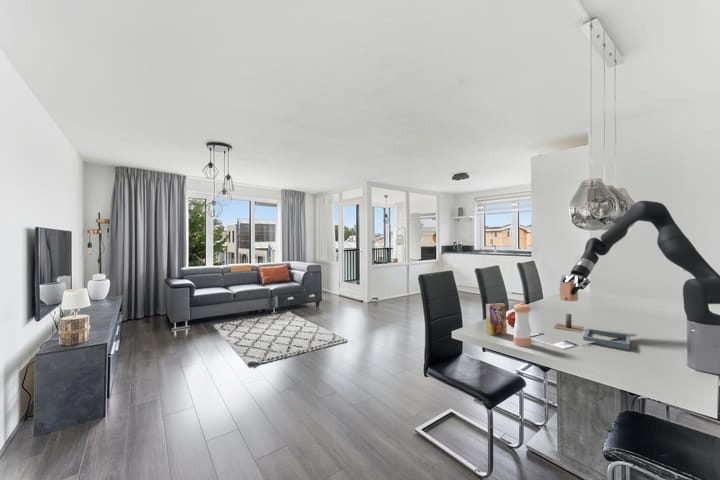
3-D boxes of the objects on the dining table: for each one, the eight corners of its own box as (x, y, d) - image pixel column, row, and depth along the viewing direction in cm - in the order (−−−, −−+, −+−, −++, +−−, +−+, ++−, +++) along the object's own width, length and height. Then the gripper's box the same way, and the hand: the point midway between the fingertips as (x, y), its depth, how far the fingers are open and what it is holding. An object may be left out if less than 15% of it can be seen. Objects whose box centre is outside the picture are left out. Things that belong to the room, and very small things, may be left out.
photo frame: (563, 347, 133) (525, 336, 149) (563, 350, 133) (525, 338, 149) (582, 342, 139) (544, 331, 155) (583, 345, 139) (544, 334, 155)
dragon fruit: (510, 325, 175) (523, 335, 163) (499, 317, 174) (511, 326, 162) (519, 313, 174) (532, 322, 162) (508, 305, 173) (521, 314, 161)
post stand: (581, 335, 151) (581, 318, 151) (553, 330, 159) (552, 314, 159) (584, 329, 160) (584, 313, 160) (557, 325, 168) (557, 310, 168)
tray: (629, 351, 130) (629, 344, 130) (583, 342, 141) (583, 336, 140) (629, 341, 142) (629, 334, 142) (587, 334, 152) (587, 328, 152)
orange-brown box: (577, 300, 157) (577, 283, 157) (568, 301, 155) (568, 284, 155) (567, 298, 162) (567, 281, 162) (558, 299, 160) (558, 282, 160)
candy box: (502, 332, 158) (502, 302, 158) (507, 334, 154) (506, 304, 154) (486, 332, 158) (485, 303, 157) (490, 335, 153) (490, 305, 153)
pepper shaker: (521, 347, 136) (521, 304, 136) (509, 342, 143) (509, 301, 143) (535, 345, 138) (534, 303, 138) (522, 340, 145) (522, 300, 145)
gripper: (566, 263, 168) (549, 286, 164) (593, 265, 154) (576, 290, 150) (573, 272, 169) (557, 295, 166) (600, 275, 156) (584, 300, 152)
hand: (566, 292), depth 158 cm, fingers closed on orange-brown box, 5 cm apart
